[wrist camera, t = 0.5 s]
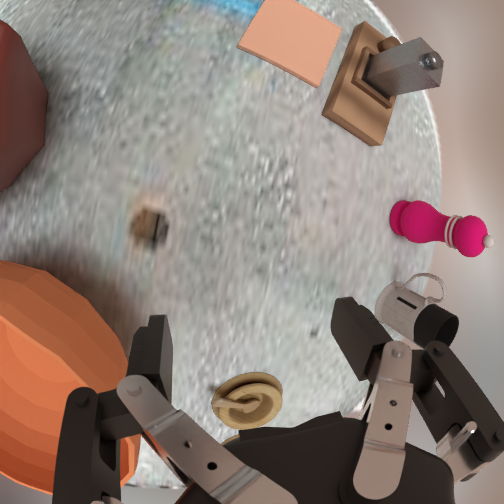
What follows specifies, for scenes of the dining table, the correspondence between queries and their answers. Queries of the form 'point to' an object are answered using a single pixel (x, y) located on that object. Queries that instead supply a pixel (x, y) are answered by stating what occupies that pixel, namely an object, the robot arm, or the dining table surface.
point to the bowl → (49, 371)
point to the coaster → (292, 39)
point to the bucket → (19, 107)
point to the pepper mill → (440, 227)
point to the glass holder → (416, 314)
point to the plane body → (360, 89)
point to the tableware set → (247, 401)
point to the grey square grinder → (404, 69)
